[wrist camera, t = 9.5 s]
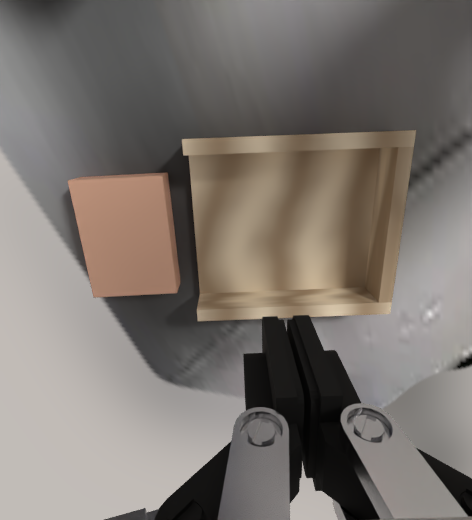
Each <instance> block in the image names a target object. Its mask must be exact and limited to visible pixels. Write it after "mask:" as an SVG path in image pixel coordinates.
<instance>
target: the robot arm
mask: <svg viewBox="0 0 472 520" xmlns="http://www.w3.org/2000/svg"><path fill="white" fill-rule="evenodd" d="M244 380H245V403H246V411H245V412H243V413H242V414H241V415H240V416H239V417H238V418H237V420H236V422H235V425H234V429H233V435H232V441H231V442H230V443H229V444H228V445H227V446H225V447H224V448H223V449H222V450H221V451H220V452H219V453H218V454H217V455H215V456H214V457H213V458H212V459H211V460H210V461H209V462H208V463H207V464H205V465H204V466H203V467H202V468H201V469H200V470H199V471H198V472H197V473H195V474H194V475H193V476H192V477H191V478H190V479H189V480H188V481H187V482H185V483H184V484H183V485H182V486H181V487H180V488H179V489H178V490H176V491H175V492H174V493H173V494H172V495H171V496H170V497H169V498H168V499H167V500H166V501H165V502H164V503H163V505H162V506H161V507H160V508H159V509H158V510H155V511H151V512H148V513H146V509H145V508H144V509H141V510H137V511H133V512H130V513H126V514H123V515H119V516H116V517H112V518H109V519H105V520H290V503H291V501H292V500H293V499H294V498H295V496H296V495H297V494H298V492H299V480H300V478H301V474H302V461H303V466H304V471H305V475H306V477H307V478H313V482H314V487H315V490H316V491H323V492H324V493H326V494H327V495H328V496H330V497H331V498H332V499H333V505H334V509H335V513H336V515H337V517H338V520H472V479H471V478H470V477H468V476H466V475H464V474H462V473H461V472H459V471H457V470H455V469H453V468H452V467H450V466H448V465H446V464H444V463H442V462H441V461H439V460H437V459H435V458H434V457H432V456H430V455H428V454H426V453H424V452H423V451H421V450H419V449H417V448H416V447H415V446H414V445H413V443H412V442H411V441H410V439H409V438H408V437H407V435H406V434H405V433H404V432H403V430H402V429H401V428H400V427H399V425H398V424H397V422H396V421H395V420H394V419H393V418H392V417H391V416H390V415H389V414H388V413H387V412H385V411H384V410H382V409H381V408H378V407H376V406H373V405H370V404H364V403H361V402H360V399H359V397H358V395H357V393H356V391H355V389H354V387H353V385H352V383H351V381H350V379H349V377H348V374H347V372H346V370H345V368H344V366H343V364H342V362H341V360H340V358H339V356H338V354H337V352H336V351H335V350H329V351H324V349H323V347H322V345H321V342H320V340H319V337H318V335H317V333H316V330H315V328H314V326H313V323H312V321H311V319H310V316H309V315H293V319H292V320H288V321H287V331H286V327H285V323H284V320H278V317H277V316H268V317H262V353H251V354H244Z"/></svg>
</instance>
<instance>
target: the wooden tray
mask: <svg viewBox="0 0 472 520" xmlns="http://www.w3.org/2000/svg"><path fill="white" fill-rule="evenodd" d="M415 135H416V130H407V131H381V132H355V133H329V134H303V135H277V136H251V137H225V138H199V139H182V146H183V156H184V155H189V166H190V178H191V190H192V202H193V214H194V227H195V239H196V251H197V263H198V276H199V288H200V296H199V301H198V306H197V318H198V321H219V320H245V319H262V317H268V316H277V317H278V318H293V315H309V316H310V317H321V316H346V315H372V314H390V311H391V304H392V297H393V290H394V283H395V276H396V269H397V262H398V255H399V248H400V240H401V233H402V226H403V219H404V212H405V205H406V198H407V191H408V184H409V177H410V170H411V163H412V156H413V149H414V142H415Z"/></svg>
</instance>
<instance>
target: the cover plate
mask: <svg viewBox="0 0 472 520" xmlns="http://www.w3.org/2000/svg"><path fill="white" fill-rule="evenodd" d="M68 185H69V189H70V194H71V198H72V203H73V207H74V211H75V216H76V220H77V225H78V229H79V234H80V238H81V243H82V247H83V252H84V256H85V261H86V265H87V270H88V274H89V279H90V283H91V288H92V292H93V296H94V297H112V296H131V295H150V294H169V293H177V291H178V288H179V286H180V283H181V281H180V272H179V264H178V255H177V247H176V238H175V230H174V222H173V213H172V205H171V196H170V188H169V179H168V173H149V174H130V175H111V176H92V177H79V178H76V179H72V180H68Z"/></svg>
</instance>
